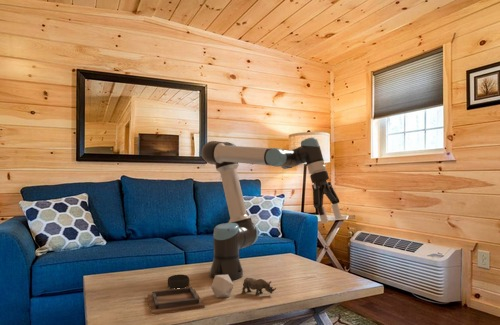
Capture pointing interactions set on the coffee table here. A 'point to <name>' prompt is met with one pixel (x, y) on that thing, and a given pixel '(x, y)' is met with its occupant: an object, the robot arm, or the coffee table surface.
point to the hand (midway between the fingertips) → (332, 220)
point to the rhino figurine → (256, 285)
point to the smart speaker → (178, 281)
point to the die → (222, 286)
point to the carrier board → (174, 300)
